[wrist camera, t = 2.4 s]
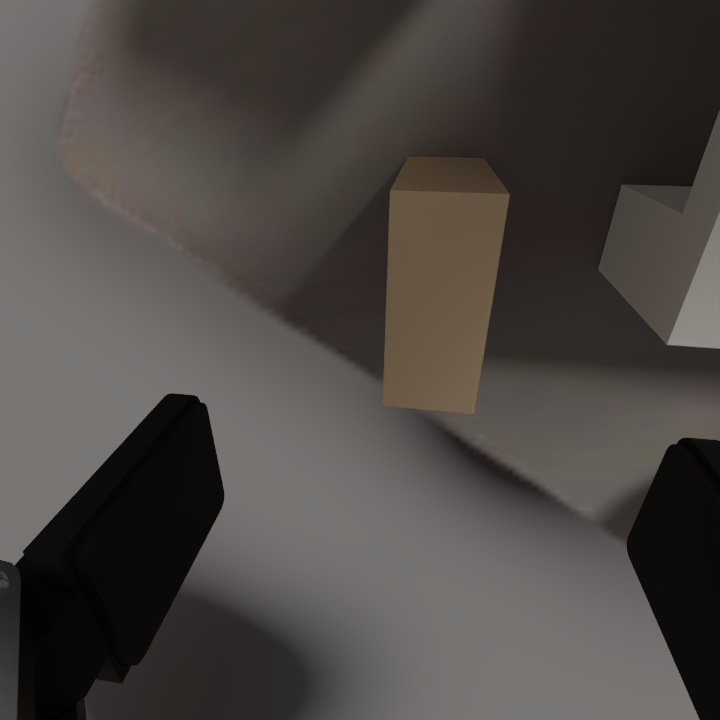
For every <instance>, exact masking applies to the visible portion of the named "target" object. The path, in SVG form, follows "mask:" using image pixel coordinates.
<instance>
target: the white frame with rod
mask: <svg viewBox="0 0 720 720" xmlns="http://www.w3.org/2000/svg"><path fill="white" fill-rule="evenodd" d="M598 270H599V271H600V272H601V273H602V274H603V276H604V277H605V278H606V279H607V280H608V281H609V282H610V283H611V284H612V285H613V286H614V288H615V289H616V290H617V291H618V292H619V293H620V294H621V295H622V296H623V297H624V299H625V300H626V301H627V302H628V303H629V304H630V305H631V306H632V307H633V308H634V309H635V311H636V312H637V313H638V314H639V315H640V316H641V317H642V318H643V319H644V320H645V322H646V323H647V324H648V325H649V326H650V327H651V328H652V329H653V330H654V331H655V332H656V334H657V335H658V336H659V337H660V338H661V339H662V340H663V341H664V342H665V343H666V345H675V346H690V347H704V348H719V349H720V110H719V113H718V116H717V118H716V121H715V124H714V127H713V130H712V133H711V135H710V138H709V141H708V144H707V147H706V149H705V152H704V155H703V158H702V161H701V163H700V166H699V169H698V172H697V175H696V177H695V180H694V183H693V186H660V185H621V189H620V192H619V196H618V199H617V203H616V206H615V210H614V214H613V217H612V221H611V224H610V228H609V231H608V235H607V239H606V242H605V246H604V249H603V253H602V256H601V260H600V264H599V267H598Z"/></svg>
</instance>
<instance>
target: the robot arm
mask: <svg viewBox="0 0 720 720" xmlns="http://www.w3.org/2000/svg"><path fill="white" fill-rule="evenodd" d="M223 501H224V489H223V484H222V479H221V475H220V469H219V464H218V460H217V454H216V449H215V445H214V440H213V435H212V430H211V425H210V420H209V415H208V410H207V407H206V405H205V404H204V403H200V400H199V399H198V397H197V396H194V395H184V394H168V395H166V396H165V397H164V398H163V399H162V400H161V401H160V402H159V403H158V404H157V406H156V407H155V408H154V409H153V410H152V411H151V412H150V413H149V414H148V415H147V417H146V418H145V419H144V420H143V421H142V422H141V423H140V424H139V425H138V426H137V427H136V428H135V430H134V431H133V432H132V433H131V434H130V435H129V436H128V437H127V438H126V439H125V440H124V442H123V443H122V444H121V445H120V446H119V447H118V448H117V449H116V450H115V451H114V453H113V454H112V455H111V456H110V457H109V458H108V459H107V460H106V461H105V462H104V463H103V465H102V466H101V467H100V468H99V469H98V470H97V471H96V472H95V473H94V474H93V475H92V477H91V478H90V479H89V480H88V481H87V482H86V483H85V484H84V486H82V487H81V489H80V490H79V491H78V492H77V493H76V494H75V495H74V496H73V497H72V498H71V499H70V501H69V502H68V503H67V504H66V505H65V506H64V507H63V508H62V509H61V510H60V511H59V512H58V514H57V515H56V516H55V517H54V518H53V519H52V520H51V521H50V522H49V523H48V525H47V526H46V527H45V528H44V529H43V530H42V531H41V532H40V533H39V535H38V536H37V537H36V538H35V539H34V540H33V541H32V542H31V543H30V544H29V545H28V546H27V547H26V549H25V550H24V551H23V553H24V556H23V557H22V558H21V559H20V560H19V561H18V562H17V563H16V565H15V566H14V565H13V564H12V563H10V562H6V561H2V560H0V720H87V717H86V706H85V696H86V695H87V693H88V691H89V689H90V688H91V686H92V684H93V683H94V681H95V679H99V680H104V681H110V682H117V683H122V682H123V680H124V678H125V677H126V675H127V673H128V671H129V669H130V667H131V665H137V664H138V663H140V661H141V660H142V659H143V657H144V655H145V654H146V652H147V650H148V648H149V647H150V645H151V643H152V641H153V639H154V637H155V635H156V633H157V631H158V629H159V627H160V625H161V624H162V622H163V620H164V618H165V616H166V614H167V612H168V610H169V608H170V606H171V604H172V602H173V601H174V598H175V597H176V595H177V593H178V591H179V589H180V587H181V585H182V583H183V581H184V579H185V577H186V576H187V574H188V572H189V570H190V568H191V566H192V564H193V562H194V560H195V558H196V556H197V554H198V553H199V551H200V549H201V547H202V545H203V543H204V541H205V539H206V537H207V535H208V533H209V532H210V530H211V527H212V526H213V524H214V522H215V520H216V518H217V516H218V514H219V512H220V510H221V508H222V505H223ZM627 551H628V555H629V558H630V560H631V563H632V565H633V567H634V570H635V572H636V574H637V576H638V579H639V581H640V583H641V586H642V588H643V590H644V592H645V595H646V597H647V599H648V602H649V604H650V606H651V609H652V611H653V613H654V615H655V618H656V620H657V622H658V625H659V627H660V629H661V632H662V634H663V636H664V638H665V641H666V643H667V645H668V648H669V650H670V652H671V655H672V657H673V659H674V662H675V664H676V666H677V668H678V670H679V673H680V675H681V677H682V680H683V682H684V684H685V687H686V689H687V691H688V693H689V696H690V698H691V700H692V703H693V705H694V707H695V710H696V712H697V714H698V717H699V719H700V720H720V441H717V440H708V439H697V438H682V439H681V440H679V441H678V443H677V444H673V445H670V446H669V447H668V449H667V450H666V453H665V455H664V457H663V459H662V462H661V464H660V466H659V468H658V471H657V473H656V475H655V477H654V480H653V482H652V484H651V486H650V489H649V491H648V493H647V495H646V498H645V500H644V502H643V504H642V507H641V509H640V511H639V513H638V516H637V518H636V520H635V522H634V525H633V527H632V529H631V531H630V534H629V536H628V539H627Z"/></svg>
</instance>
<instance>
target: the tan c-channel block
mask: <svg viewBox="0 0 720 720" xmlns="http://www.w3.org/2000/svg"><path fill="white" fill-rule="evenodd" d="M509 197H510V193H509V192H508V190H507V189H506V188H505V186H504V185H503V184H502V182H501V181H500V179H499V178H498V177H497V175H496V174H495V172H494V171H493V170H492V168H491V167H490V165H489V164H488V163H487V161H486V160H485V159H484V158H470V157H418V156H408V157H407V159H406V161H405V163H404V165H403V167H402V169H401V171H400V172H399V174H398V176H397V178H396V180H395V182H394V184H393V186H392V188H391V190H390V206H389V235H388V265H387V294H386V324H385V353H384V383H383V406H391V407H401V408H412V409H423V410H434V411H445V412H455V413H466V414H474V412H475V406H476V399H477V393H478V387H479V381H480V375H481V369H482V363H483V356H484V350H485V344H486V338H487V332H488V326H489V320H490V314H491V307H492V301H493V295H494V289H495V283H496V277H497V271H498V265H499V258H500V252H501V246H502V240H503V234H504V228H505V222H506V215H507V209H508V203H509Z"/></svg>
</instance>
